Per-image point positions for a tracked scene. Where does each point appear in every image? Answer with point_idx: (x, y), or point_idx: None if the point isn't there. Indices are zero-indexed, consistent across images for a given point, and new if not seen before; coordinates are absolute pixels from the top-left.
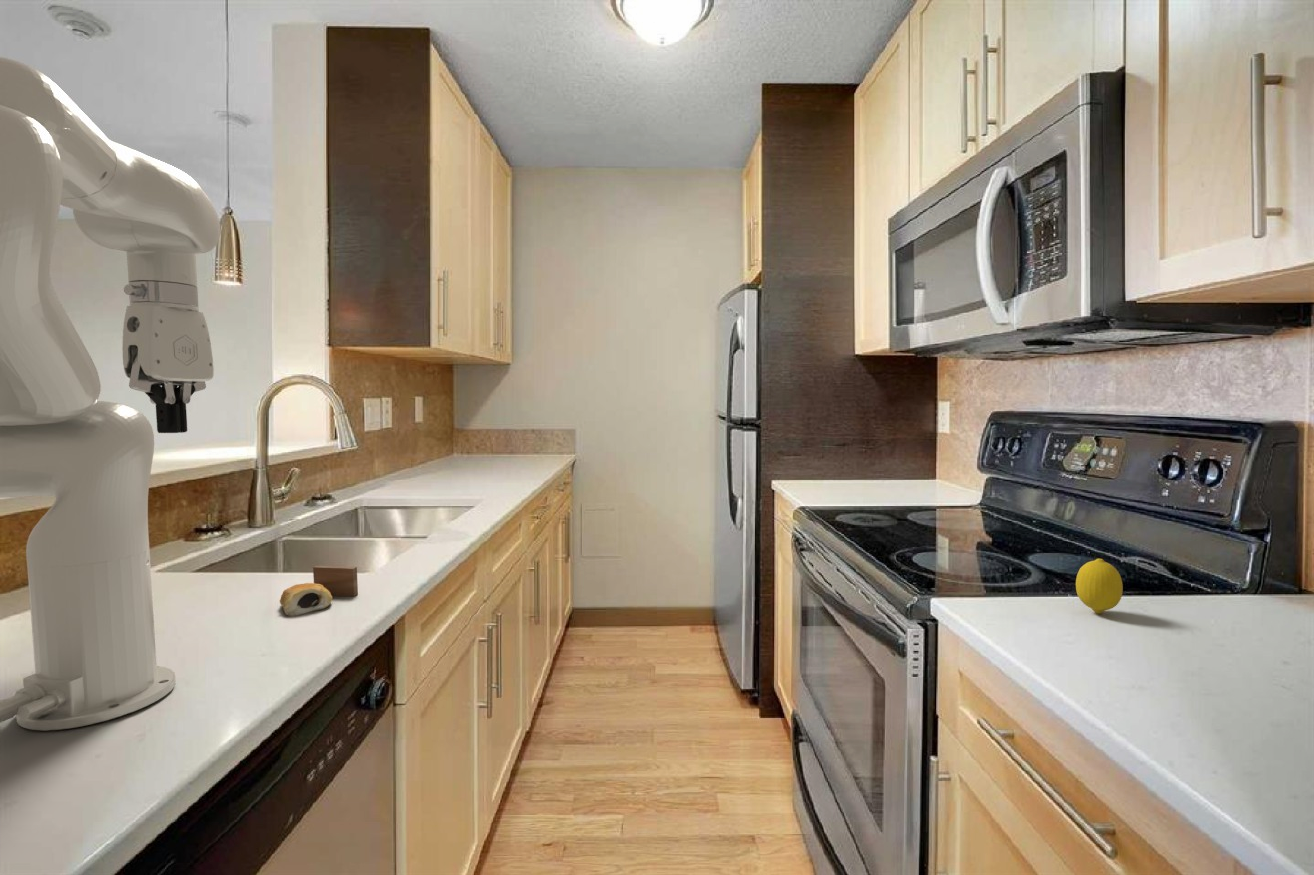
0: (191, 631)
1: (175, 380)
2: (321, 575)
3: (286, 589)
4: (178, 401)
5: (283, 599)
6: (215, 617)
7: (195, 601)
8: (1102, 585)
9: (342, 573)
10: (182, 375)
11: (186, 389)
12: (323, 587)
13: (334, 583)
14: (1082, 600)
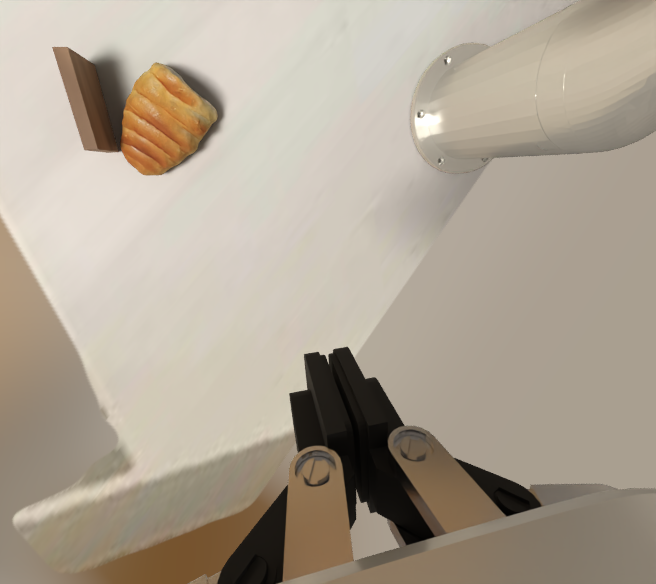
0: (298, 201)
1: (511, 518)
2: (98, 132)
3: (185, 139)
4: (346, 466)
5: (206, 127)
6: (251, 218)
7: (210, 302)
8: None
9: (81, 79)
10: (499, 572)
11: (322, 534)
12: (144, 85)
13: (97, 104)
14: None
